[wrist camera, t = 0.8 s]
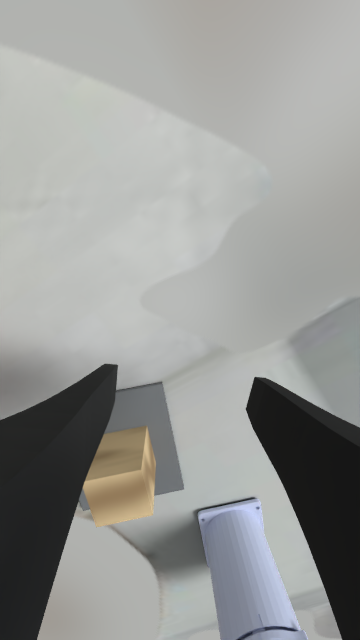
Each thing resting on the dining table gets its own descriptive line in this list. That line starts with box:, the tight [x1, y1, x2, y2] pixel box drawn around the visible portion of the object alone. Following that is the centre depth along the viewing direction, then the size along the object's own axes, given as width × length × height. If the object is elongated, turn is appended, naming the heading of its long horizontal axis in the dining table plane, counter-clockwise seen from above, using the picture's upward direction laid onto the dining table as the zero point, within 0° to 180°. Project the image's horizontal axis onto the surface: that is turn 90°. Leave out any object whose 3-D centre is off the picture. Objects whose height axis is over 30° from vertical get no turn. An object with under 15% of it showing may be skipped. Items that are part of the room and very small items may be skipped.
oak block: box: [83, 426, 156, 527], centre depth 19 cm, size 5×5×5 cm
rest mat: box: [79, 382, 184, 511], centre depth 22 cm, size 14×12×1 cm
